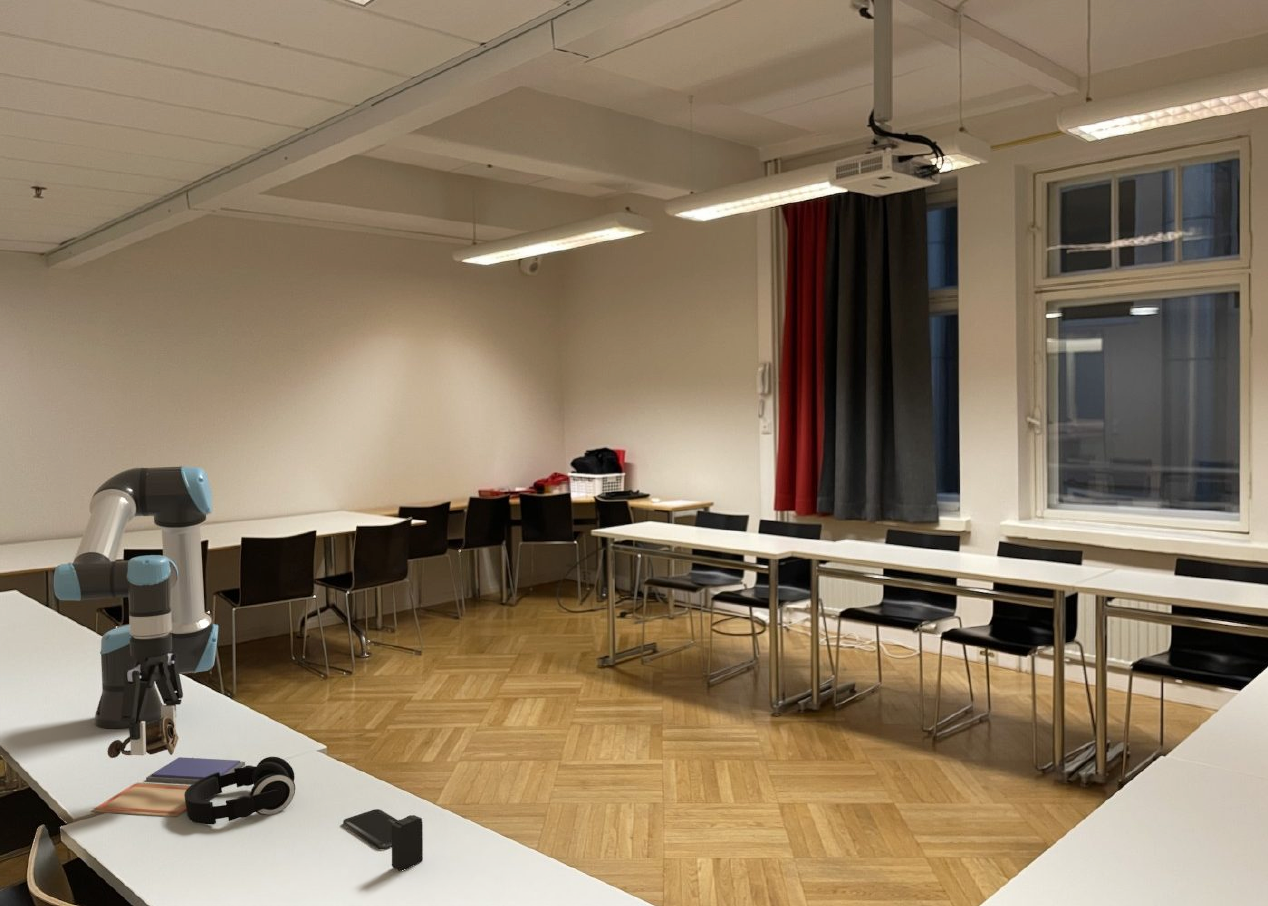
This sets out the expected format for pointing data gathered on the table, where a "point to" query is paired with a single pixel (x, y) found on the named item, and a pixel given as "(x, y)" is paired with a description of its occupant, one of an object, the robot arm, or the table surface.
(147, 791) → the print sheet
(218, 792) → the headphones
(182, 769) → the ink pad
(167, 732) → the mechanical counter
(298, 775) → the table surface
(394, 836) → the ink cartridge
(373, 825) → the phone
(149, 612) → the robot arm
